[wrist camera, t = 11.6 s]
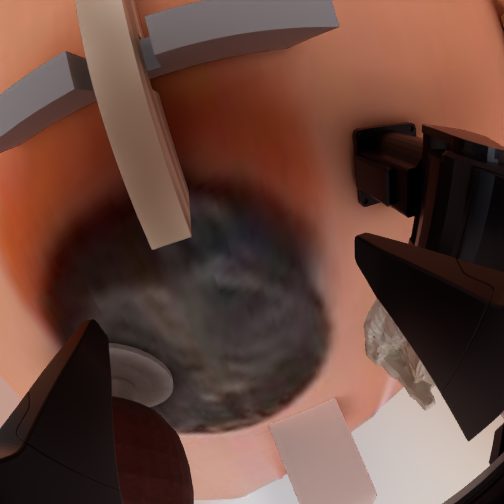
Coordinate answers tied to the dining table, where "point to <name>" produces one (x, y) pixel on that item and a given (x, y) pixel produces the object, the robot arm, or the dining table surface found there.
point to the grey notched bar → (163, 54)
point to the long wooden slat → (134, 119)
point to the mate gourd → (146, 431)
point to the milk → (322, 457)
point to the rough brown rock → (502, 19)
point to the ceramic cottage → (397, 355)
